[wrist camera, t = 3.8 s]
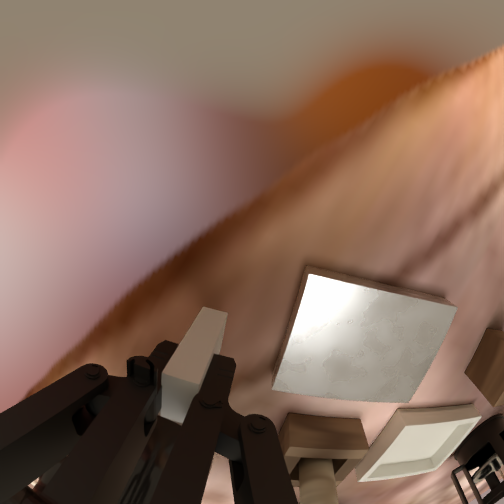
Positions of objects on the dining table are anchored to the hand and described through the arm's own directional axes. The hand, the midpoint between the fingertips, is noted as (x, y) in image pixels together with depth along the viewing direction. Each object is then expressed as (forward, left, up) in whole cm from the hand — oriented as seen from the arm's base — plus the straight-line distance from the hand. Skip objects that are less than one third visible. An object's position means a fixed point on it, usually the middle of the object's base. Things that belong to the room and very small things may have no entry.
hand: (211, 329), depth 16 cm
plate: (+11, 0, -4) cm, 11 cm away
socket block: (+11, -12, -3) cm, 17 cm away
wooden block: (+26, 0, -3) cm, 26 cm away
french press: (+39, -15, -4) cm, 42 cm away
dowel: (+11, -12, -3) cm, 17 cm away
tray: (+24, -12, -3) cm, 27 cm away
